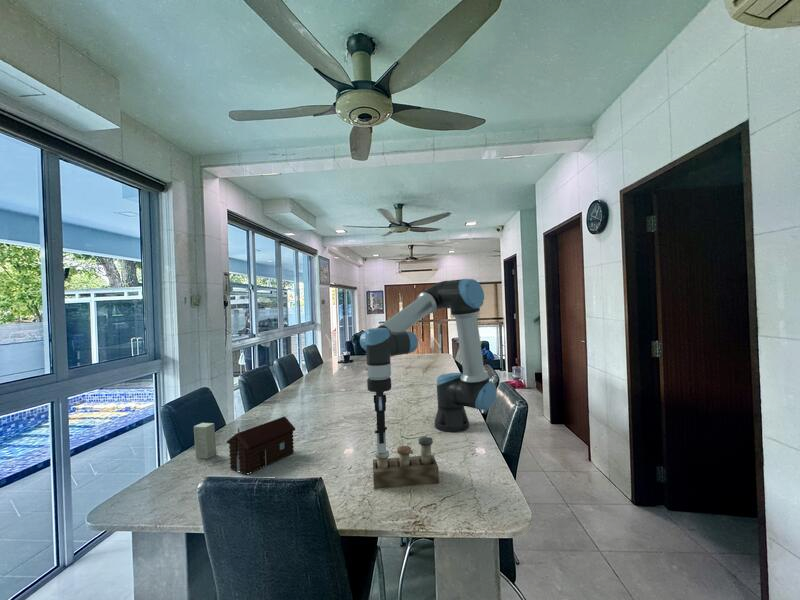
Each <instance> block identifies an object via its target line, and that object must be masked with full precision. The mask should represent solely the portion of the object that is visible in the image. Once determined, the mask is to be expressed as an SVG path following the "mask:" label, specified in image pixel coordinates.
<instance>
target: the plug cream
mask: <svg viewBox="0 0 800 600" xmlns="http://www.w3.org/2000/svg"><path fill="white" fill-rule="evenodd" d="M374 457H375V459H377V465H378V468H388V461H387V458H389V457H390V452H389V450H387V449H386V453H378V452H377V450H376V451H375V452H374Z"/></svg>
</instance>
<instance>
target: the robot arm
mask: <svg viewBox="0 0 800 600" xmlns="http://www.w3.org/2000/svg"><path fill="white" fill-rule="evenodd" d="M484 301H485V293H484V289H483V287H482V285H481V283H479V282H478V281H477V280H476V279H474V278H461V279H460V278H459V279H453V280H442V281H439V282H436V283H434V284H433V285H431V286H430V287H428V288H426V289H425V290H423V291H422V292H421V293H420V294H418V295H417V299H415V300H413V301H412V302H411V303H410V304H408V305H406V306H405V307H404V308H403V309H401V310H399V311H398V312H397V313H396V314H394V315H393V316H391V317H390V318H389V319H387V320H386V321H384V322H383V323H382V324H380V325H379V326H378V327H376V328H369V329H367V330H365V331H363V332H362V333H361V335H360V338H359V344H360V348H361V349H363V350H364V351H366V353H365V355H366V367H365V368H364V370H365V371H367V372H366V376H367V380H366V381H367V382H366V383H367V384H366V385H367V390H368V391H369V392H371V393H375V394H373V403H374V411H375V412H376V415H375V416H376V423H375V426H376V430H374V433H375V434H376V446H377V447H376V449H377V450H376V451H377V452H378V453H386V450H387V438H386V436H387V435H386V431H387V430H388V427H387V426H386V416H385V415H386V414H385V413H386V412H385V411H386V410H387V407H386V405H387V404H386V403H387V394H386V393H385V392H389V391H390V390H391V389H392V378H391V376H392V367H391V366H392V363H391V357H395V356H396V357H397V356H400V355H401V356H402V355H408V354H411V353H414V352H415V351H416V350H417V348H418V346H419V341H418V337H417V335H416V334H415V333H414V332H413V331H411V330H409V329H410V328H411V327H413V326H415V324H417V323H418V322H419V321H421V320H422V319H423V318H424V317H426V316H427V315H428V314H433V313H435V312H436V311H439V310H443V309H450V314H451V316H452V317H454V318H455V323H456V331H457V338H458V345H459V354H460V358H461V359H460V360H461V366H462V372H452V373H451V372H450V373H443V374H440V375H439V376H437V379H436V396H437V411H436V413H435V414H436V415H435V417H434V428H435V429H436V430H439V431H442V432H448V433H457V432H459V433H460V432H463V431H466V430H469V428H470V421H469V418H468V415H467V412H466V409H465V407H467V408H471V409H476V410H482V411H487V410H489V409H490V408H492V406H493V405H494V403H495V401H496V397H497V393H498V392H497V391H498V389H497V385H496V384H495V382H493V381H492V380H491V381H490V375H489V374H488V373H487V372H486V371H485V368H484V367H485V366H484V358H483V353H482V345H481V336H480V330H479V323H478V314H479V313H480V312H481V309H480V308H481V307H482V306H483V304H484ZM384 393H385V394H384Z"/></svg>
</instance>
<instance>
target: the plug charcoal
mask: <svg viewBox="0 0 800 600" xmlns="http://www.w3.org/2000/svg"><path fill="white" fill-rule="evenodd" d="M418 444H419V445H420V456H421V462H422V465H430V464H432V461H431V455H432V444H433V438H432V437H430V436H423V437H420V438H419V439H418Z"/></svg>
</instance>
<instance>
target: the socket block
mask: <svg viewBox="0 0 800 600" xmlns="http://www.w3.org/2000/svg"><path fill="white" fill-rule="evenodd" d="M409 458H410V466H404V467H400V460H399V457H390V458H389V457H388V458H387V461H388V468H378V465H377V458H375V459H374V458H373V459H372V470H373V471H372V476H373V490H376V489H377V490H378V489H387V488H388V489H389V488H400V487H401V488H402V487H412V486H413V487H414V486H423V485H424V486H426V485H438V484H440V475H439V469H440V468H439V466H438V462H437V461H436V459H435V455H434V454H431V461H432V464H430V465H422V462H421V455H417V456H416V455H415V456H409Z"/></svg>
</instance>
